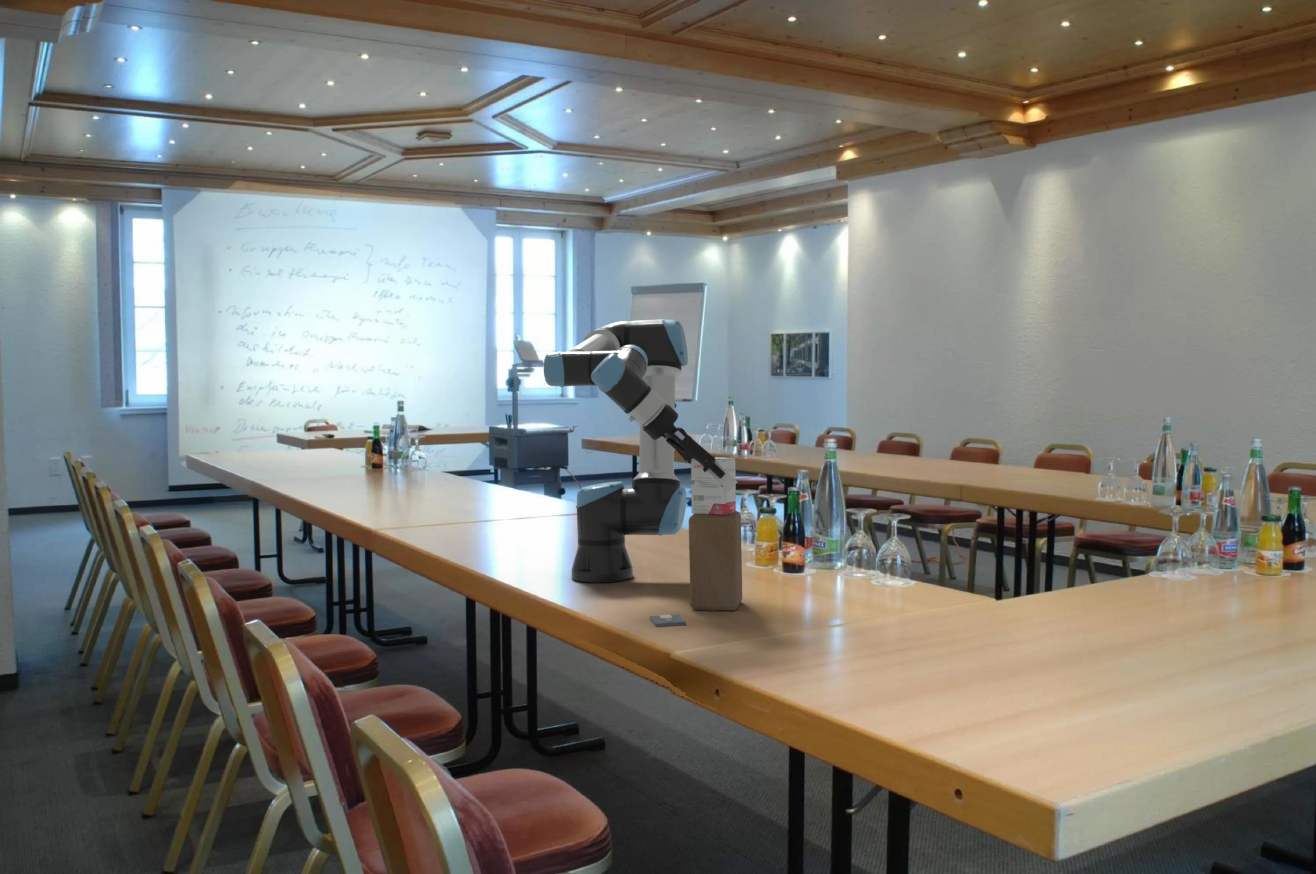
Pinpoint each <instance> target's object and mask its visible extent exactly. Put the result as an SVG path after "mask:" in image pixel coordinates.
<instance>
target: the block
mask: <svg viewBox="0 0 1316 874" xmlns="http://www.w3.org/2000/svg"><path fill="white" fill-rule="evenodd" d="M688 550H689V551H688V552H689V553H688V554H689V555H688V557H689V559H688V561H689V594H690V595H689V598H690V602H689V603H690V607H691V609H692V610H694V611H717V612H718V611H719V612H722V611H723V612H726V611H727V612H733V611H736V610H737V609H738V608H739V606H740V604H741V602H742V600H743V562H742V561H743V560H742V555H743V554H742V515H741V512H739V511H737V510H736V512H735V513H731V514H728V515H715V514H691V516H689V517H688Z"/></svg>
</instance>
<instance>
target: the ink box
mask: <svg viewBox="0 0 1316 874" xmlns="http://www.w3.org/2000/svg"><path fill="white" fill-rule="evenodd" d="M715 459H716V460H715V461H717V462H718V463H719V464H720V465H721V466H722V467H723V468H724V469H725V470H726V471H727V472H728V473H729V474H730V475H731V476H732V477H733V478H734V479H735V480H736V457H735V458H734V457H715ZM707 460H708V459H707ZM690 468H691V470H690V476H691V477H690V479H691V489H690V490H691V491H690V493H691V515H693V514H715V515H728V514H731V513H735V512H736V511H737V509H736V508H737V506H736V505H737V501H736V497H737V494H736V493H737V491H736V488H737V487H736V485H735V486H734V487H733V488H732V489H731V490H730V491H727V490H726V489H725V488H724V487H723V486H722V485H721V484H720V483H719V482H718V481H717V480H716V479H715V478H714V477H713V476H712V475H711V474H710V473H709V472H708V471H706V472H704V471H703V468H704V466H702V465H701V464H700V463H699V462H698V461H696V460H695V459H694V458H693V459H691V464H690ZM736 481H737V480H736Z"/></svg>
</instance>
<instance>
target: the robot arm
mask: <svg viewBox="0 0 1316 874" xmlns="http://www.w3.org/2000/svg"><path fill="white" fill-rule="evenodd" d="M685 334H686V333H685V331H684V327H683V324H682V323H681V322H680V321H679V320H676V319H665V318H662V319H646V320H645V319H642V320H620V321H615V322H612V323H608V324H606V325H603V326H601V327H598V328H595V329H594V330H592V331H590V332H589V333H588V334H587V335H586V336H585V337H584V339H583V341H582V342H580V343H579V344H577V345H576V346H574V347H572V348H571V349H569V350H568V351H560V350H559V351H555V352H548V353H547V354H546V355H545V357H544V360H543V376H544V380H545V382H546V384H547V385H548V386H550V387H560V388H564V387H581V386H582V387H583V386H584V387H585V386H594V387H595V386H596V387H598V389H599V390H600V391H601V392H603V393H604V394H605V395H606V396H607V397H608V398H609V399H610V400H611V401H612V402H613V403H615V405H617V406H618V407H619V408H620V409H621V410H622V411H623V413H625V414H626V415H627V416H629V418H628V421H629V422H633V421H634V423H635V424H637V426H639V455H638V457H639V460H638V461H639V462H638V464H639V465H638V474H637V475H636V476H635V477H634V478H632V487H631V486H630V487H625V484H624V482H623V481H610V482H609V481H608V482H602V483H597V484H592V485H587V486H583V487H581V488H580V489H579V490H578V491H577V492H576V493H577V494H576V506H575V508H576V520H577V521H576V525H577V526H576V527H577V528H576V529H577V550H576V553H575V557H574V560H573V564H572V567H571V579H572V580H573V581H575V582H581V583H582V582H583V583H597V584H599V583H613V582H621V581H625V580H629V579H632V578H633V576H634V569H633V564H632V562H631V558H630V556H629V553H628V551H627V550H628V549H627V548H626V536H660V537H662V536H668V535H676V534H677V533H679V531H681V529H682V526H683V523H684V519H685V513H686V508H687V506H686V505H687V490H686V488H685V487H683V486H681V480H680V479H679V477H677V475H675V472H674V471H675V470H674V469H675V451H676V452H677V453H678V455H680V456H681V457H682V458H683V460H684V461H685V462H687V463H688V464H689V465H691V459H693V458H694V459H695V460H696V461H698V462H699V463H700V464H701V465H702V466H704V468H703V471H704V472H706V471H708V472H709V473H710V474H711V475H712V476H713V477H714V478H715V479H716V480H717V481H718V482H719V483H720V484H721V485H722V486H723V487H724V488H725V489H726V490H727V491H730V490H731V489H732V488H733V487H734V486H735V485H736V484H738V481H737V480H735V479H736V478H735V479H734V478H733V477H732V476H731V475H730V474H729V473H728V472H727V471H726V470H725V469H724V468H723V467H722V466H721V465H720V464H719V463H718V462H717V461H715V460H716V459H715V458H716V457H715V456H713V455H712V454H710V452H709V451H707V450H706V449H705V448H704V447H702V445H700V444H699V443H698V442H697V441H696V440H694V438H693V437H691V435H690V434H688V433H687V431H685V429H684V428H682V427H679V426H677V427H676V426H675V422H676V421H678V418H679V413H678V412H677V411H676V409H675V406H676V400H675V399H676V379H677V378H679V376H680V375H681V374H682V367H685V366H688V362H689V361H688V359H689V358H688V347H687V341H686V335H685ZM707 459H708V460H707Z"/></svg>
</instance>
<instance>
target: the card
mask: <svg viewBox="0 0 1316 874" xmlns="http://www.w3.org/2000/svg"><path fill="white" fill-rule="evenodd" d="M648 617H649V620H650V621H651V623H652V624H653V625H654V627H657V628H659V627H672V626H673V627H675V626H684V625H685V626H686V623H687V622H686V620H684V618H682V616H681V615H680V614H678V613H675V614H673V613H672V614H659V615H658V614H657V615H649V616H648Z"/></svg>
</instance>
